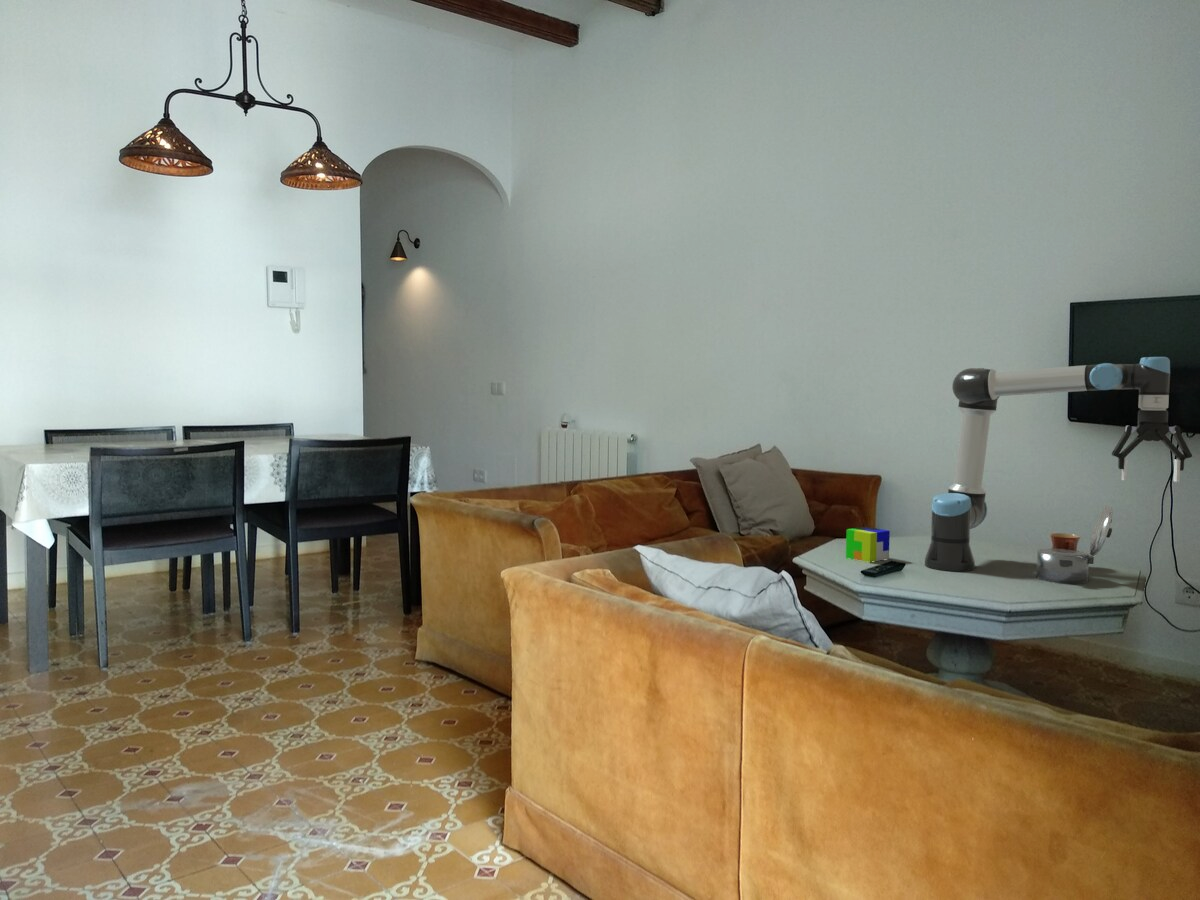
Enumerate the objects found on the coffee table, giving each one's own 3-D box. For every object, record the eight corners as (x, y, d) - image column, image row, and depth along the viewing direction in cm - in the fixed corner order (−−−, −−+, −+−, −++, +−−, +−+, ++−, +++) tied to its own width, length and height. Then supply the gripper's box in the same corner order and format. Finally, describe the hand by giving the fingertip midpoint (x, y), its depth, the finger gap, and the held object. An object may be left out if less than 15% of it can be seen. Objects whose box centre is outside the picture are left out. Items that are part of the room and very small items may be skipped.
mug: (1045, 563, 289) (1046, 532, 288) (1073, 564, 287) (1075, 533, 286) (1056, 570, 277) (1057, 539, 276) (1086, 571, 275) (1087, 539, 274)
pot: (1039, 583, 259) (1040, 557, 259) (1033, 570, 277) (1034, 545, 276) (1096, 587, 254) (1097, 560, 253) (1087, 574, 271) (1088, 549, 270)
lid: (1112, 509, 252) (1123, 513, 251) (1103, 503, 266) (1114, 506, 265) (1094, 559, 255) (1105, 562, 254) (1086, 550, 269) (1097, 553, 268)
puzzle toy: (888, 559, 294) (889, 530, 293) (869, 563, 289) (870, 533, 288) (864, 555, 302) (865, 526, 302) (845, 558, 297) (846, 529, 296)
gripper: (1109, 409, 255) (1106, 481, 257) (1207, 410, 248) (1203, 483, 250) (1102, 408, 263) (1099, 478, 264) (1197, 409, 255) (1193, 480, 257)
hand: (1150, 481), depth 257 cm, fingers open, 13 cm apart
